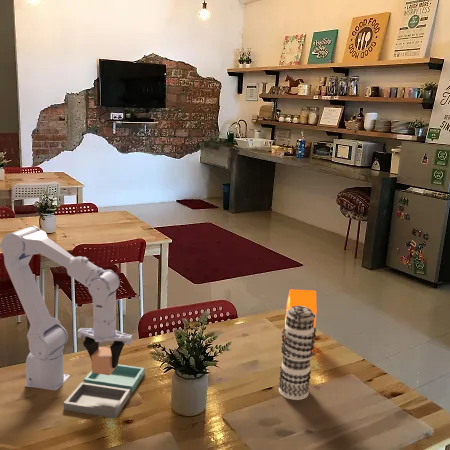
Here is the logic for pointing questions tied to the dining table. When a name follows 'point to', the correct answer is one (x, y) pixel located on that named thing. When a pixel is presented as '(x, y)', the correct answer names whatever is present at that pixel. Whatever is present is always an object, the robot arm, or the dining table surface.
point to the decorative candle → (297, 352)
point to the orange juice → (302, 300)
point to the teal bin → (118, 377)
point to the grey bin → (97, 400)
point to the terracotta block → (102, 361)
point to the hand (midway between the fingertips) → (105, 364)
